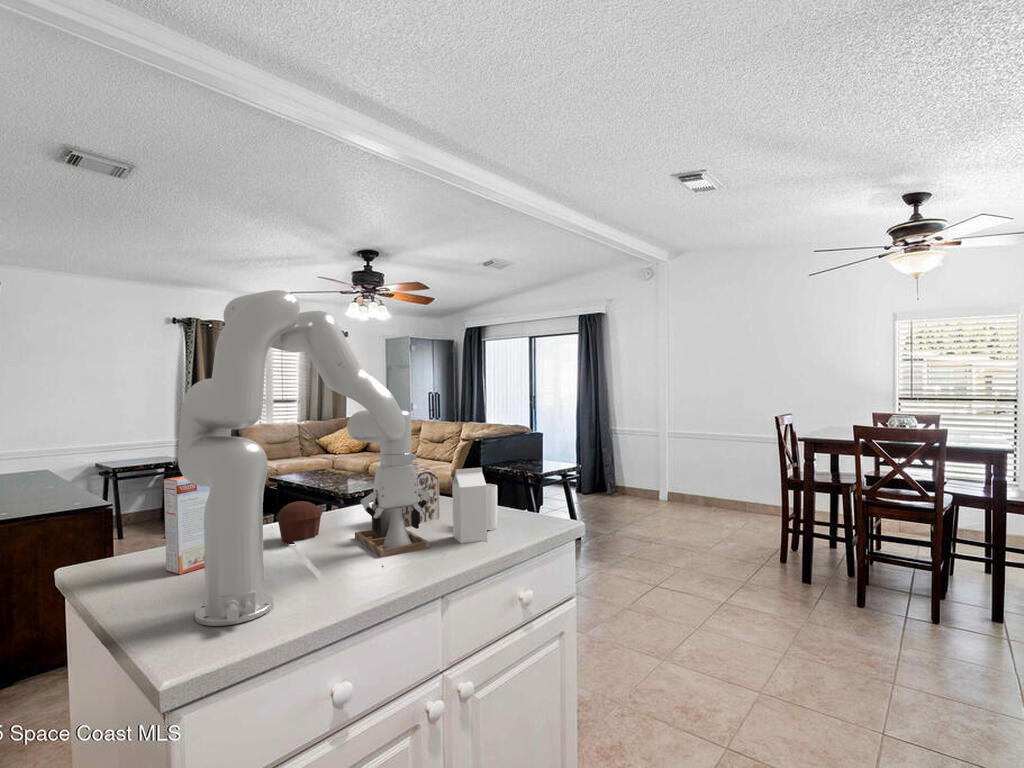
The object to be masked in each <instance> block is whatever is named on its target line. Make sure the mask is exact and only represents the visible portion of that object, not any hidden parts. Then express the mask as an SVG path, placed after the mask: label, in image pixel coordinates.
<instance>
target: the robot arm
mask: <svg viewBox="0 0 1024 768" xmlns="http://www.w3.org/2000/svg"><path fill="white" fill-rule="evenodd" d="M300 309H301V308H300V303H299V300H298V299H297V297H295V295H293V293H291V292H288V291H286V290H281V289H274V290H266V291H260V292H257V293H256V292H255V293H252V294H247V295H246V294H245V295H242V296H238V297H235V298H232V300H230V301H229V302H228V303H227V305H225V308H224V310H223V317H222V318H223V321H224V326H223V328H222V329H221V332H220V333H219V336H218V338H217V342H216V346H215V350H214V351H215V352H214V359H213V366H212V374H211V378H205V379H202V380H199V381H198V382H196V383H195V384H193V385H192V386H191V387H190V388H189V389H188V391H186V393H185V395H184V398H183V400H182V404H181V410H180V418H179V420H180V421H179V436H178V452H177V458H178V460H177V461H178V462H177V463H178V468H179V470H180V473H181V475H182V476H184V477H185V479H187V480H188V481H189V482H191V483H193V484H196V485H200V486H205V487H210V491H209V495H208V498H207V502H206V505H205V510H204V566H205V567H204V604H202V605H200V606H199V607H198V608H197V609H196V610H195V613H194V619H195V622H196V623H198V624H200V625H202V626H207V627H208V626H209V627H221V626H222V627H223V626H231V625H239V624H242V623H245V622H250V621H252V620H255V619H257V618H259V617H262V616H263V615H265V614H267V613H268V612H270V610H271V609H272V608H273V606H274V598H273V597H272V596H271V595H270V594H267V593H265V581H264V578H265V577H264V576H265V573H264V569H265V567H264V525H263V524H264V521H263V519H264V518H263V517H264V516H263V515H264V512H263V511H264V509H263V508H264V507H263V506H264V505H263V503H264V492H265V484H266V480H267V474H268V467H269V466H268V458H267V454H266V452H265V450H264V448H263V447H262V446H261V445H260V444H259V443H258V442H256V441H254V440H252V439H249V438H247V437H243V436H233V435H232V430H241V429H247V428H250V427H252V426H254V425H255V424H256V423H258V421H259V420H260V418H261V417H262V416H261V415H262V412H263V407H264V389H265V388H264V386H265V373H266V372H265V369H266V363H267V357H268V352H269V350H270V348H272V349H276V350H280V351H284V352H288V353H302V352H305V353H306V354H307V356H308V357H309V359H310V361H311V363H312V364H313V365H314V367H315V369H316V371H317V372H318V373H319V376H320V377H321V379H322V381H323V383H324V384H325V385H326V387H327V388H328V389H330V390H332V391H334V392H336V393H337V394H338V395H341V396H344V397H345V398H346V397H347V398H349V399H351V400H353V401H354V402H357V404H359V405H361V406H362V407H363V408H364V409H365V410H360V411H357V412H355V413H353V414H352V415H351V416H350V417H349V418H348V421H347V422H346V431H347V433H348V435H349V437H351V438H352V439H353V440H355V441H357V442H360V443H369V444H371V443H372V444H373V443H375V444H377V443H378V444H379V448H380V449H379V450H380V451H379V453H380V454H379V456H380V457H379V462H380V463H379V466H376V470H375V475H374V481H373V492H371V493H370V494H368V495H367V496H365V497H364V498H362V499H361V500H360V505H362V507H363V509H364V511H366V513H367V514H368V515H369V516H371V529H372V530H373V531H374V533H376V534H377V535H380V534H381V518H380V517H379V515H380V514H381V513H382V511H383V510H384V509H391V508H398V507H406V506H411V507H412V508H413V510H412V511H411V526H410V527H412V528H414V529H419V528H420V512H421V511H422V508H423V507H424V506H425V505H426V503H427V502H426V501H427V500H428V497H429V495H430V493H429V492H427V491H424V490H422V489H420V488H417V479H416V473H415V468H414V465H412V464H411V463H412V462H413V461H415V460H418V459H417V457H418V456H417V454H416V453H413V452H412V415H411V412H410V411H408V410H406V409H405V410H403V409H401V407H400V405H399V404H398V402H397V400H396V398H395V397H394V395H393V393H392V392H391V391H390V390H389V389H388V388H387V387H386V386H385V385H384V384H382V383H381V382H380V381H379V380H378V379H377V378H375V377H374V376H373V375H372V374H371V373H369V372H368V371H366V370H365V369H364V368H363V367H362V366H361V364H360V362H359V361H358V358H357V357H356V356H355V354H354V351H353V350H352V348H351V346H350V344H349V343H348V340H347V338H346V336H345V335H344V333H343V331H342V330H341V327H340V326H339V324H338V322H337V320H336V319H335V317H334V316H333V315H332V314H330V313H328V312H326V311H323V310H310V311H302V312H301V311H300ZM418 493H419V494H421V495H422V498H421V500H420V501H419V502H418V503H417V501H418ZM371 502H372V503H373V502H374V505H375V507H374V508H373V509H372V506H370V505H371V504H370V503H371Z"/></svg>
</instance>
